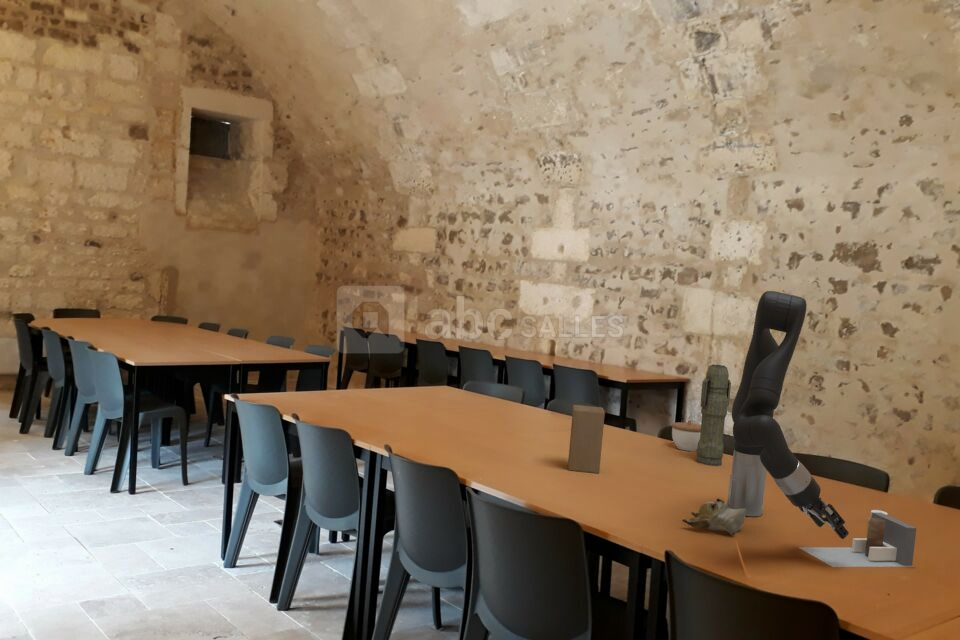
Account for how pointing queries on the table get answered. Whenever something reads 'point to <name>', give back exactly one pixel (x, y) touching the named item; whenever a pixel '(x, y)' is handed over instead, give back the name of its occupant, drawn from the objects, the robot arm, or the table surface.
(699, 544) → the table surface
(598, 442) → the wooden block
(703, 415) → the olive green tall piece
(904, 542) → the board with wall
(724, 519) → the ceramic sculpture
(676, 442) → the lidded bowl
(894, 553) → the cradle
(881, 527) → the dowel
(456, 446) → the table surface
